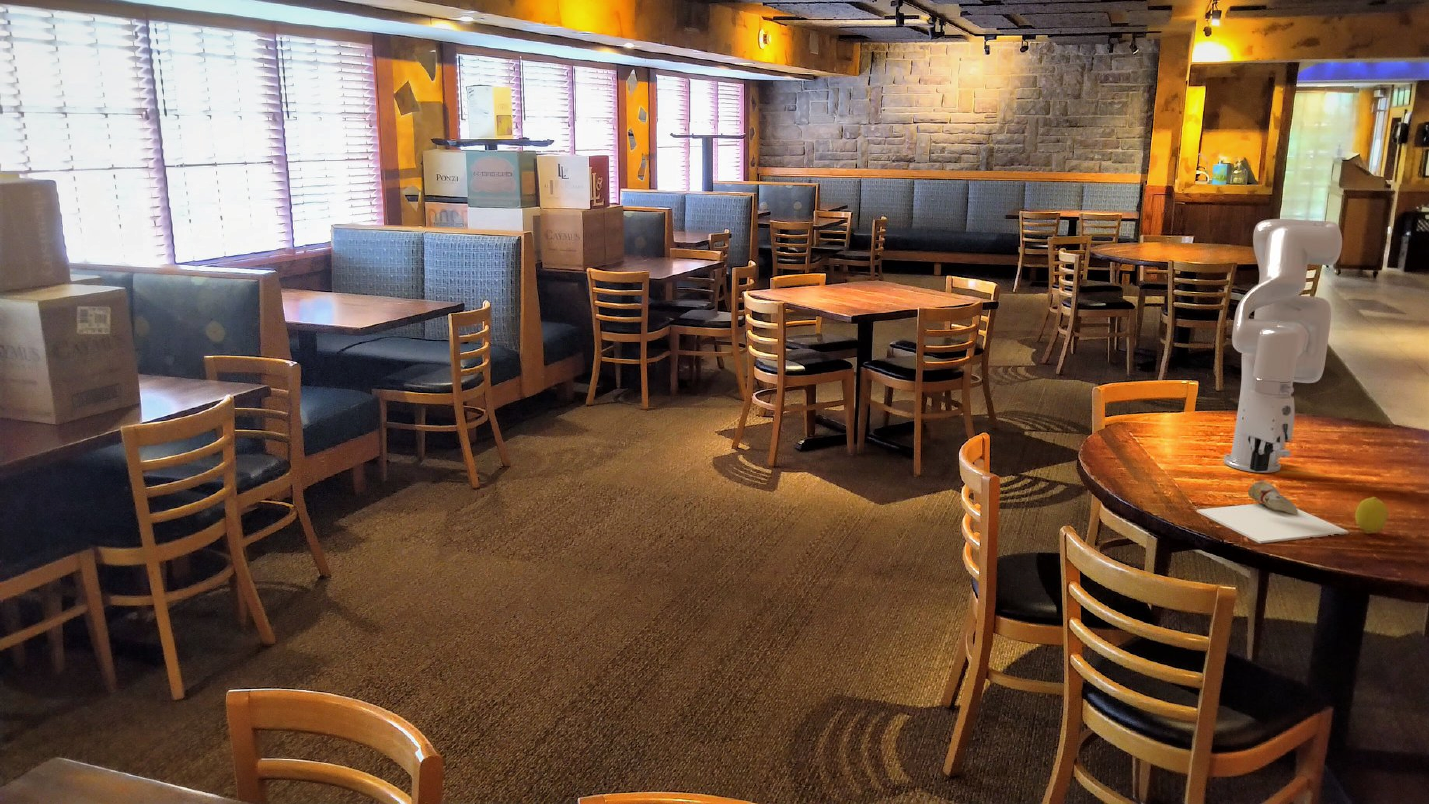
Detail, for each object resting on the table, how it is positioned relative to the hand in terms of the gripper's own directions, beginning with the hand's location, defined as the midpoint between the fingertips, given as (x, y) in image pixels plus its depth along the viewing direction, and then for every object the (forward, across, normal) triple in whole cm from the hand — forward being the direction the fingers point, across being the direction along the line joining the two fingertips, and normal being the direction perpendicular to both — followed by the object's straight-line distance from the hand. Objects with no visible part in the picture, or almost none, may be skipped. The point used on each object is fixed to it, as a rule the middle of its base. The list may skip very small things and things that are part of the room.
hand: (1258, 469), depth 220 cm
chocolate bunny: (+7, +5, -6) cm, 10 cm away
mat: (+10, -5, 0) cm, 11 cm away
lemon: (+10, -15, -15) cm, 24 cm away
